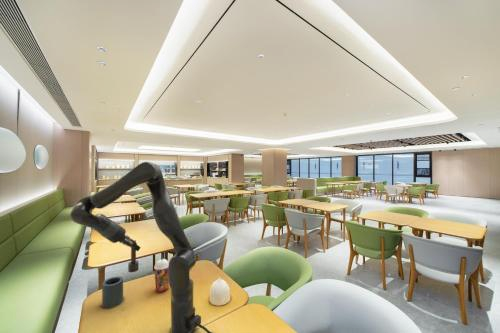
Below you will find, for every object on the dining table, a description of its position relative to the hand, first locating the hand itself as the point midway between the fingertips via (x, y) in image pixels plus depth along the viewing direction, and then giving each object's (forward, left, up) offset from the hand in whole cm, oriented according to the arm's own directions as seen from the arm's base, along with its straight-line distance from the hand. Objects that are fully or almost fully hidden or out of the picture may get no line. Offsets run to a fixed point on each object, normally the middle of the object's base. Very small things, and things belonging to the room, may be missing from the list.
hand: (137, 248), depth 111 cm
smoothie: (-1, -13, -28) cm, 31 cm away
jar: (+10, +8, -27) cm, 30 cm away
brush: (0, +2, -10) cm, 11 cm away
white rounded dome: (-34, -25, -28) cm, 51 cm away
